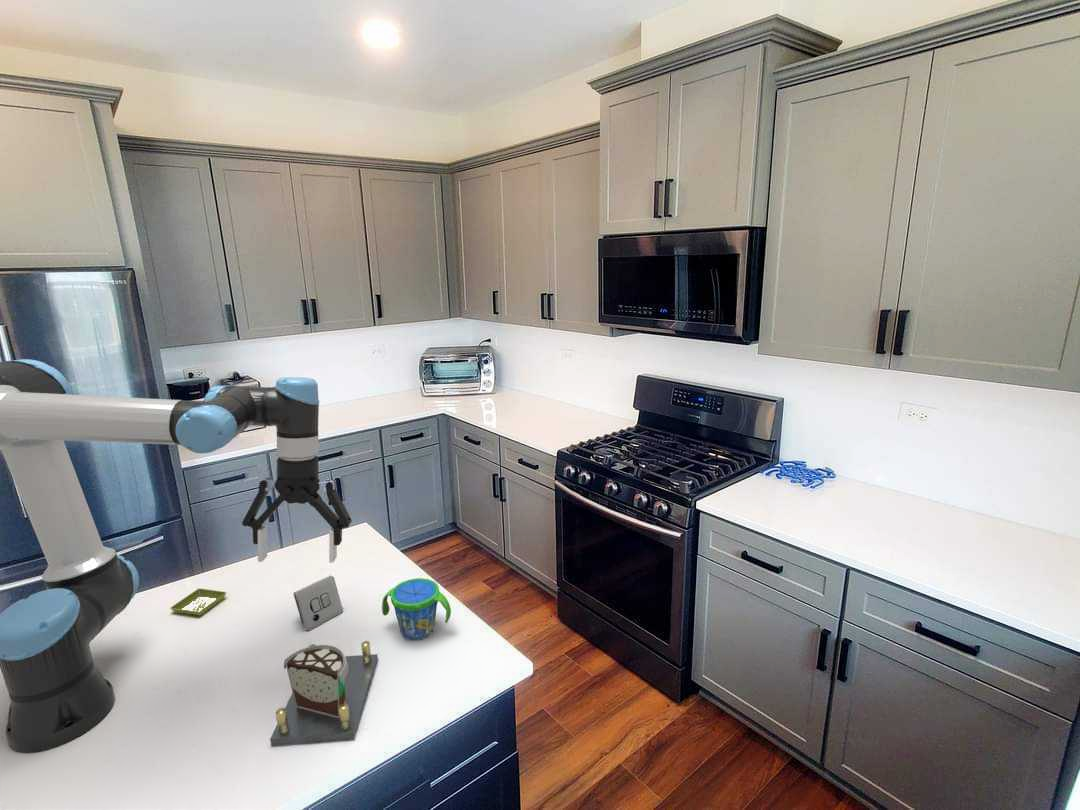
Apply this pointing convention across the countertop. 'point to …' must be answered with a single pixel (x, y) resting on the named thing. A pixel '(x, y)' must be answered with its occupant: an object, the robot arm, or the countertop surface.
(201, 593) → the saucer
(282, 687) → the countertop surface
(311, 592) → the electrical switch
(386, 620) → the countertop surface
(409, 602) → the snack cup
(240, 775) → the countertop surface
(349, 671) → the post plate
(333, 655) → the food container
